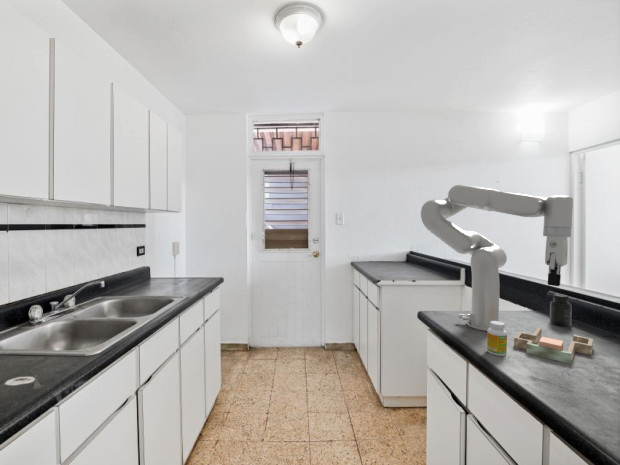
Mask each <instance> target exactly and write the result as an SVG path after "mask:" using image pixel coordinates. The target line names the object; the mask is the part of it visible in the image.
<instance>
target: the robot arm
mask: <svg viewBox="0 0 620 465" xmlns="http://www.w3.org/2000/svg"><path fill="white" fill-rule="evenodd" d="M467 208H472V209H477V210H482V211H488V212H496V213H501V214H505V215H506V214H507V215H512V216H517V217H521V218H522V217H523V218H539V217H543V229H542V236H543V237H546V241H545V254H544V256H545V257H544V261H545V262H544V263H545V265H546V266H548V274H547V285H548V286H554V287H559V286H560V285H561V277H562V276H561V275H562V273H561V270H562V269H561V268H562V267H564V266H565V265H568V247H569V246H568V245H569V244H568V242H569V241H568V238H571V237H572V228H573V227H572V225H573V211H574V210H573V208H574V199H573V197H572V196H568V195H553V196H552V195H551V196H547V197H544V196H534V195H529V194H523V193H522V194H521V193H514V192H507V191H501V190H498V189H493V188H489V187H488V188H487V187H479V186H472V185H465V184H456V185H453V186H452V187H451V188H450V189H449V190H448V192H447V197H446V198H444V199H431V200H427V201H425V203H423V205H422V206H421V209H420V218H421V222H422V224H423V226H424V227H425V228H426V229H427V230H428V231H429V232H430V233H431V234H433V235H434V236H436V237H437V238H438V239H439V240H440V241H442V242H443V243H444V244H446V245H447V246H448V247H449V248H451V249H453V251H455V252H456V253H458V254H461V255H466V254H467V255H468V254H469V255H471V257H470V268H471V269H470V270H471V308H470V309H471V311H470V312H469V313H466V314H464V313H458V316H457V317H458V319H459V320H460V319H462V320H463V321H466V325H467V326H468V327H470V328H472V329H475V330H478V331H483V332H487V331H488V328H490V322H491V321H499V319H500V318H499V317H500V313H499V312H500V272H499V269H500V268H502V267H504V266H505V265H506V263H507V261H508V260H507V259H508V258H507V254H506V252H505V250H503V248H501V247H500V246H498V245H497V244H496V243H494V242H493V241H491V240H489V239H488V238H487V237H485V236H483V235H481V233H479V232H476V231H473V230H463V228H460V227H459V226H457V225H456V224H454V222H452V221H450V220H448V219H449V218H450V217H452V216H455V215H457V214H458V213H460V212H461V211H463V210H465V209H467ZM499 322H500V321H499Z"/></svg>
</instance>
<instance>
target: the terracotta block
mask: <svg viewBox="0 0 620 465" xmlns="http://www.w3.org/2000/svg"><path fill="white" fill-rule="evenodd" d="M538 345H540V346H544V347H548V348H553V349H557V350H561V351H564V340H560V339H556V338H549V337H545V336H541V337H540V339H539V340H538Z"/></svg>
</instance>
